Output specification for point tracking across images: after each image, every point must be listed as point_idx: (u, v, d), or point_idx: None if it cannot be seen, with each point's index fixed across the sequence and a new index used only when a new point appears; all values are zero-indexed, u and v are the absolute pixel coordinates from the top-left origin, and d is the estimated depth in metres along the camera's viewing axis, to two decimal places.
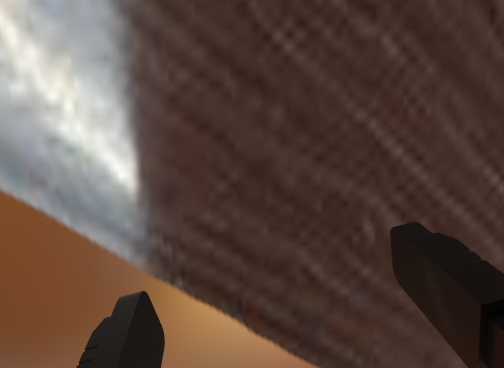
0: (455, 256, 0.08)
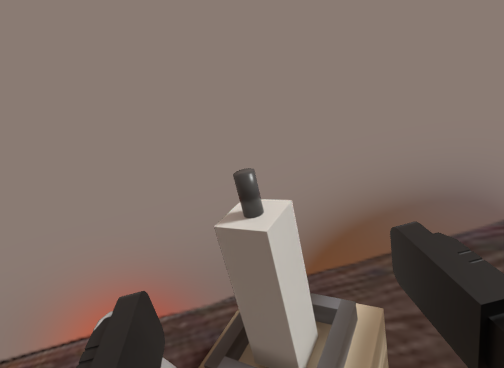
0: (455, 256, 0.08)
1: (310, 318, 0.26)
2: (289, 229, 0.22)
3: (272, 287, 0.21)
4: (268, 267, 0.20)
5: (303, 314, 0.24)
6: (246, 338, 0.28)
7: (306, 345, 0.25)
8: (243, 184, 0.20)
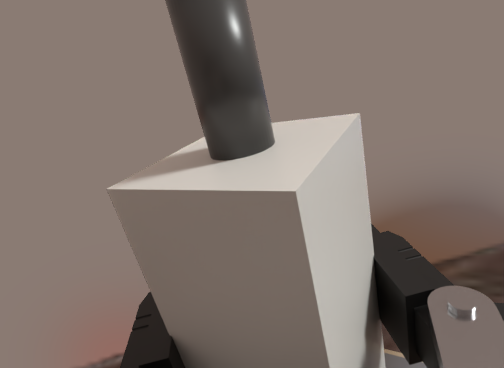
0: (394, 253, 0.09)
1: None
2: (355, 201, 0.07)
3: None
4: (297, 335, 0.05)
5: None
6: None
7: None
8: (200, 20, 0.05)
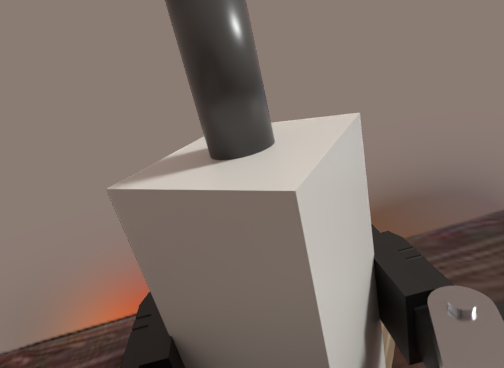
0: (394, 253, 0.09)
1: None
2: (355, 200, 0.07)
3: None
4: (297, 335, 0.05)
5: None
6: None
7: None
8: (199, 20, 0.05)
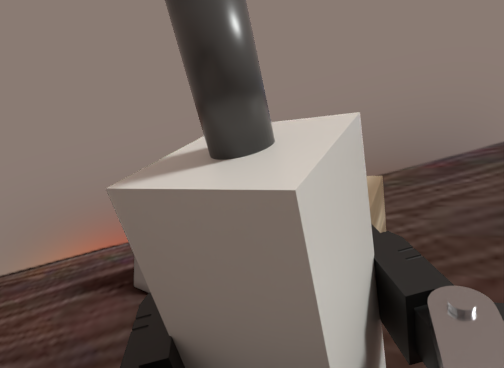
0: (394, 253, 0.09)
1: None
2: (355, 200, 0.07)
3: None
4: (297, 335, 0.05)
5: None
6: None
7: None
8: (199, 19, 0.05)
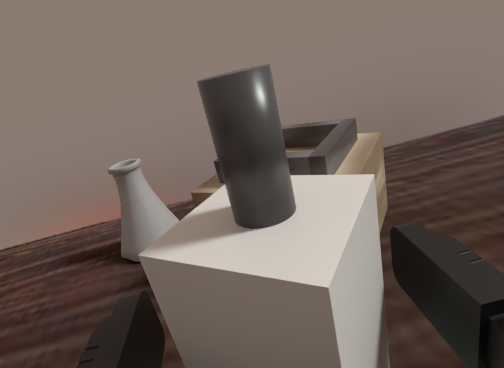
0: (455, 256, 0.08)
1: None
2: (371, 260, 0.07)
3: None
4: None
5: None
6: None
7: None
8: (232, 110, 0.06)
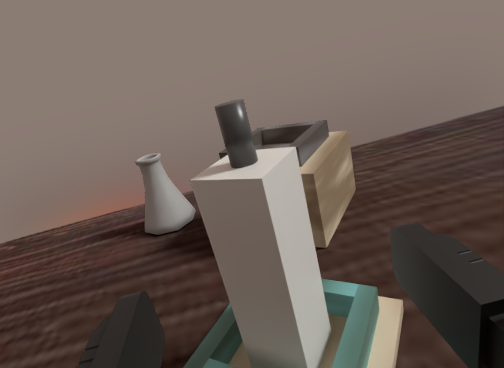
0: (455, 256, 0.08)
1: (322, 308, 0.20)
2: (293, 184, 0.16)
3: (271, 262, 0.15)
4: (265, 233, 0.15)
5: (312, 301, 0.18)
6: None
7: (317, 343, 0.19)
8: (228, 118, 0.15)
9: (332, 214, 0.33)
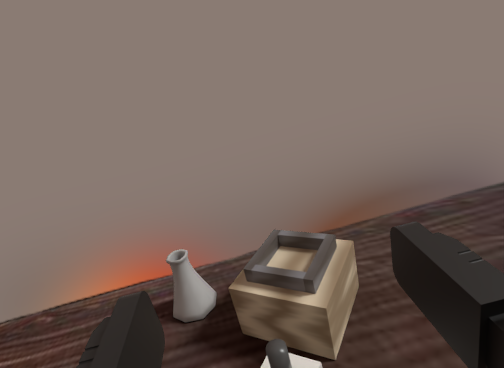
0: (455, 256, 0.08)
1: None
2: None
3: None
4: None
5: None
6: (267, 259, 0.44)
7: None
8: (276, 363, 0.21)
9: (340, 327, 0.40)
